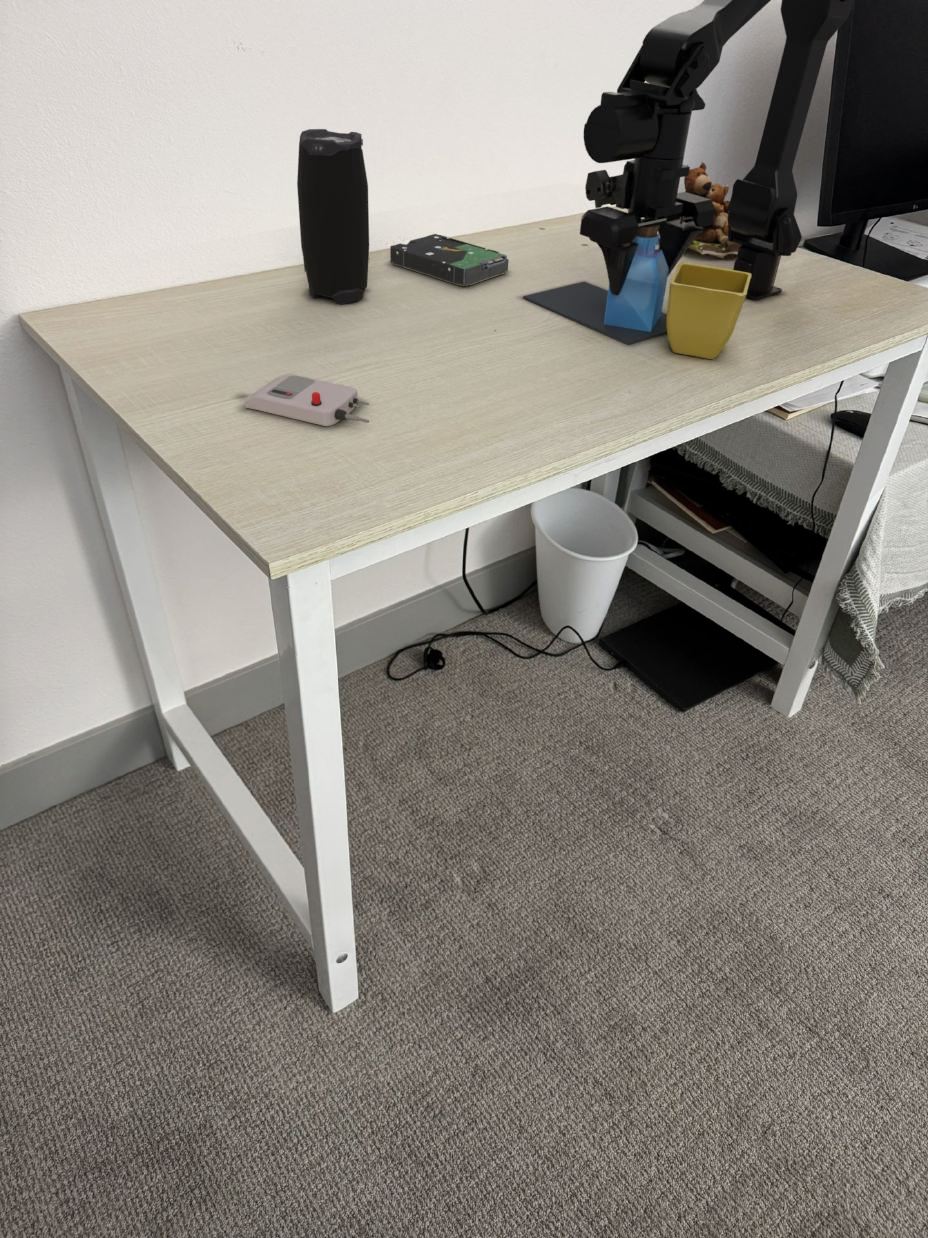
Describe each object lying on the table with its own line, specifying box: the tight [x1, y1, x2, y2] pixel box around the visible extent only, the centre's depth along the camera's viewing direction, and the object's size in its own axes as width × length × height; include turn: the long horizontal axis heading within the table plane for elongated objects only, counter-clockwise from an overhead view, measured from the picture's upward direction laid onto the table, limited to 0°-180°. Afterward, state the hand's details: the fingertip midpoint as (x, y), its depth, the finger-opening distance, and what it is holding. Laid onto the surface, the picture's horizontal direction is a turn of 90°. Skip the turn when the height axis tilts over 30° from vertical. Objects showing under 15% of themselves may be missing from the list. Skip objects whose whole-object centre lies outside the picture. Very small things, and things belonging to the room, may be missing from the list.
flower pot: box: [666, 262, 751, 360], centre depth 107 cm, size 9×9×9 cm
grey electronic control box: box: [244, 373, 370, 427], centre depth 92 cm, size 7×16×3 cm, turn 67°
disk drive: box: [389, 233, 510, 287], centre depth 130 cm, size 10×3×15 cm
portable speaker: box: [296, 128, 370, 305], centre depth 114 cm, size 9×9×20 cm
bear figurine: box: [657, 161, 741, 260], centre depth 141 cm, size 14×15×12 cm
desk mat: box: [522, 281, 667, 346], centre depth 119 cm, size 12×20×1 cm, turn 39°
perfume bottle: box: [604, 224, 669, 332], centre depth 112 cm, size 6×6×12 cm
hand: (637, 288), depth 113 cm, fingers closed on perfume bottle, 8 cm apart
